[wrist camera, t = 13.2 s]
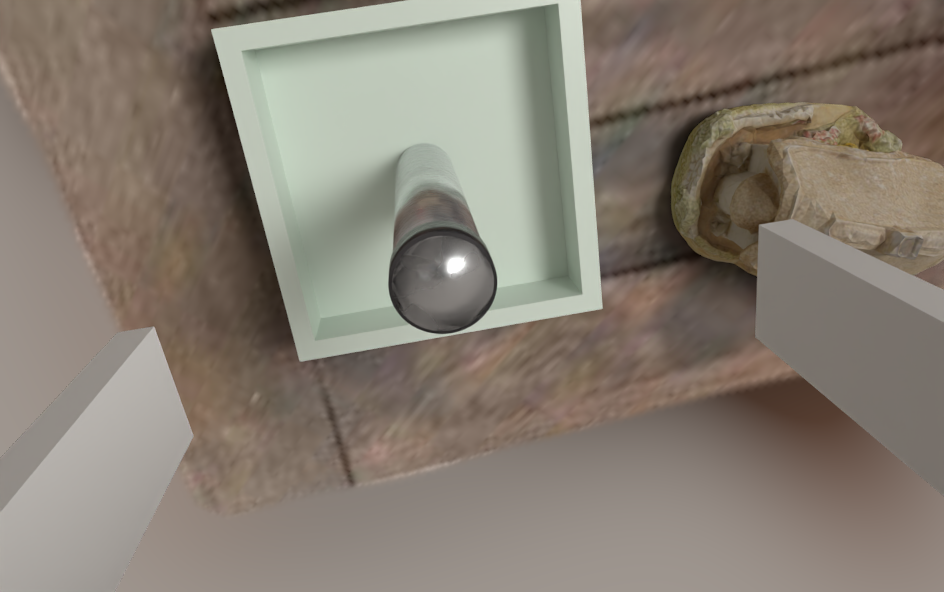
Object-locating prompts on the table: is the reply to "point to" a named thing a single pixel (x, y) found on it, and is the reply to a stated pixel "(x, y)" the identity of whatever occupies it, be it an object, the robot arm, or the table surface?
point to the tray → (406, 124)
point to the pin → (437, 247)
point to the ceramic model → (806, 184)
